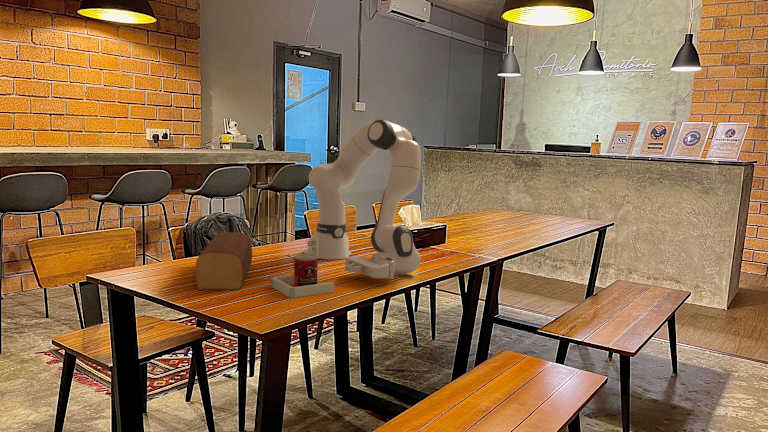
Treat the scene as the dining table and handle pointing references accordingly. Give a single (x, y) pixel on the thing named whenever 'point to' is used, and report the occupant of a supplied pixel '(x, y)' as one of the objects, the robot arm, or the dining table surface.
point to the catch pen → (284, 287)
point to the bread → (224, 262)
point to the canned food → (305, 269)
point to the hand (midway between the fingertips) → (347, 268)
